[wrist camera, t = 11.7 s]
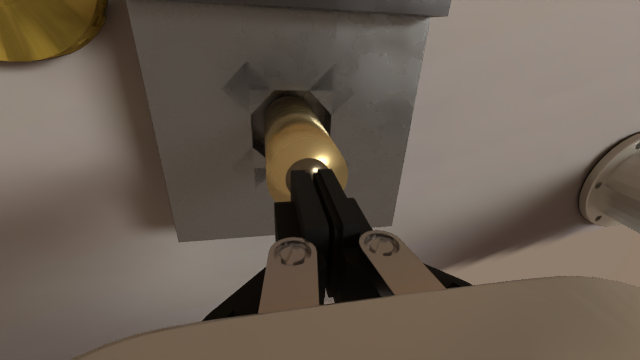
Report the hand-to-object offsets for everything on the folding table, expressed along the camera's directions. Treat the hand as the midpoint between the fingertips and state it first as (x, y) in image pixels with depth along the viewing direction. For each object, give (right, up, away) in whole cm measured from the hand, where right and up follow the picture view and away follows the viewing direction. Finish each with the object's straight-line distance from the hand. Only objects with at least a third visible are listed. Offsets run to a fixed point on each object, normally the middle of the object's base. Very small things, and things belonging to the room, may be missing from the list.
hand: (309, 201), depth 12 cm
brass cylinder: (-2, +5, +11) cm, 12 cm away
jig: (-2, +6, +13) cm, 14 cm away
